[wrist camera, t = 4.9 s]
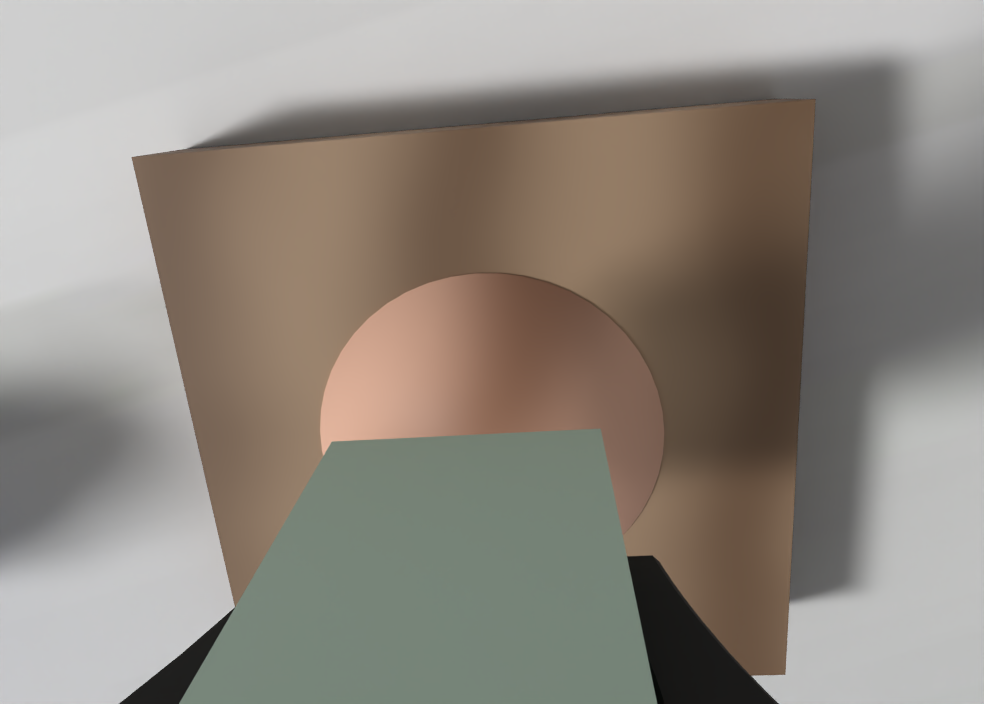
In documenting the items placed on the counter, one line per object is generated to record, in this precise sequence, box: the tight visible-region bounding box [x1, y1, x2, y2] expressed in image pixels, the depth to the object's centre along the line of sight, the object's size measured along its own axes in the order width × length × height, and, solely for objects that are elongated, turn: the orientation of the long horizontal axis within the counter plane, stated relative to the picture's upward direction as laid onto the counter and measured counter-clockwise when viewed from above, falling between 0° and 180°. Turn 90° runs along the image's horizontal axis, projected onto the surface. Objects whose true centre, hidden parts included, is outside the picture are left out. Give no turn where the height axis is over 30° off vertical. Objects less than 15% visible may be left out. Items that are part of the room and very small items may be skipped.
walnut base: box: [132, 99, 815, 676], centre depth 19 cm, size 14×14×3 cm
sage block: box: [179, 429, 657, 704], centre depth 10 cm, size 4×4×6 cm
